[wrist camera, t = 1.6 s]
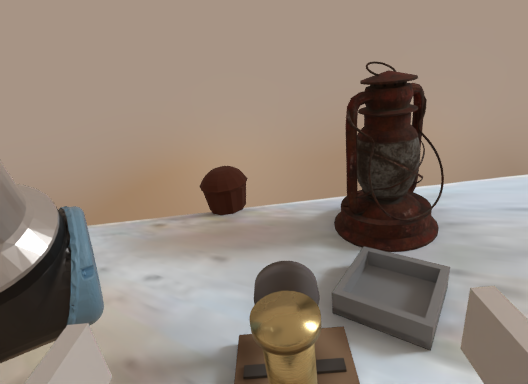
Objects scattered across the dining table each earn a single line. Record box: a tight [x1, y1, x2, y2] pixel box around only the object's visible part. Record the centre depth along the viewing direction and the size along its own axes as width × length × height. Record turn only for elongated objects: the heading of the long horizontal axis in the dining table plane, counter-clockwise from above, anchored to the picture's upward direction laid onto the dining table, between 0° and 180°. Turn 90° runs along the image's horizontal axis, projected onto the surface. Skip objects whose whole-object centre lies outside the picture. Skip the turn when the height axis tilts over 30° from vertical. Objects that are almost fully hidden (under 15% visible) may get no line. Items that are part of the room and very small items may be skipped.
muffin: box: [200, 166, 247, 215], centre depth 77 cm, size 12×11×10 cm
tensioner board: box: [234, 261, 360, 384], centre depth 30 cm, size 13×17×12 cm
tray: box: [332, 246, 450, 350], centre depth 43 cm, size 12×12×4 cm
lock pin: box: [250, 291, 321, 384], centre depth 26 cm, size 5×5×14 cm
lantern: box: [334, 62, 444, 252], centre depth 57 cm, size 19×19×30 cm
